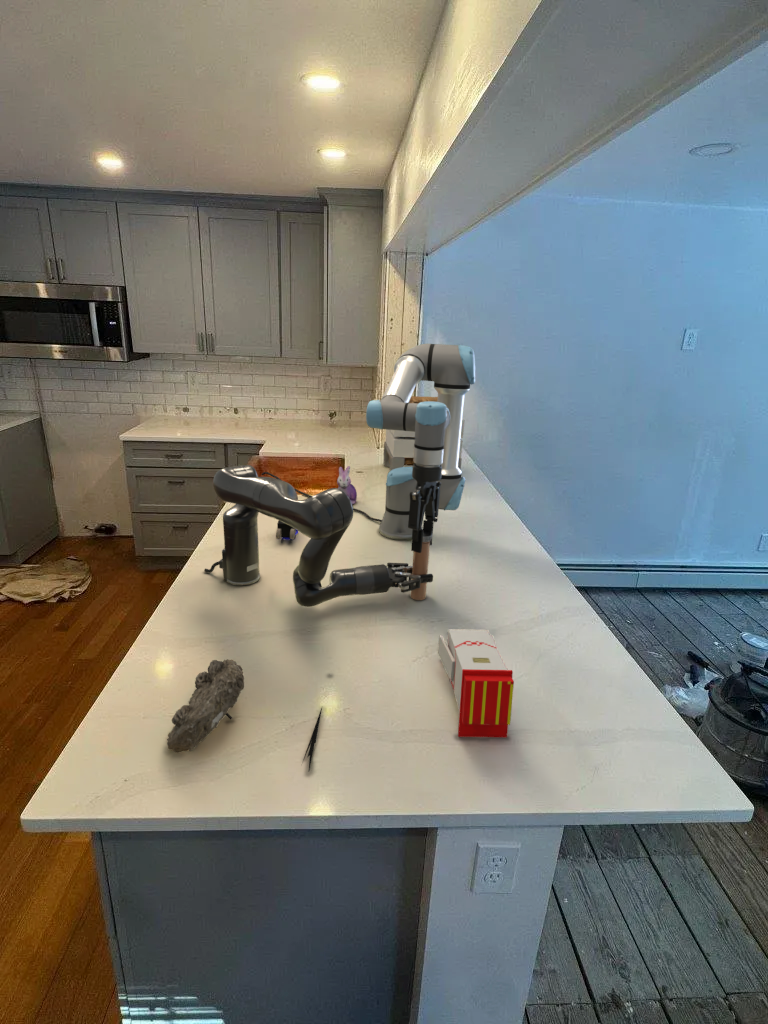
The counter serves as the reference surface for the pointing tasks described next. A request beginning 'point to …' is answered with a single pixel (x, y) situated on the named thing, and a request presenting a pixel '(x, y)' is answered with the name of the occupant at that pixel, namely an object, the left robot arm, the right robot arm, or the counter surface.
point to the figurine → (346, 484)
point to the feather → (313, 740)
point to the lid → (427, 536)
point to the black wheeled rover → (285, 532)
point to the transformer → (407, 443)
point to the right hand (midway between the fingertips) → (421, 547)
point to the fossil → (206, 705)
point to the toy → (478, 682)
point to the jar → (420, 570)
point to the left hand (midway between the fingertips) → (428, 573)
